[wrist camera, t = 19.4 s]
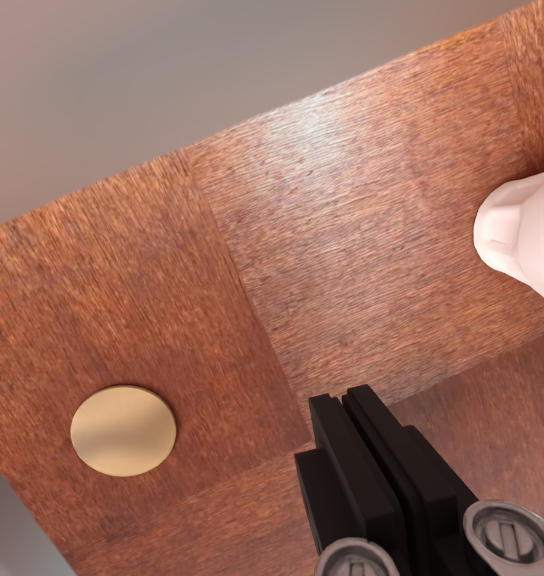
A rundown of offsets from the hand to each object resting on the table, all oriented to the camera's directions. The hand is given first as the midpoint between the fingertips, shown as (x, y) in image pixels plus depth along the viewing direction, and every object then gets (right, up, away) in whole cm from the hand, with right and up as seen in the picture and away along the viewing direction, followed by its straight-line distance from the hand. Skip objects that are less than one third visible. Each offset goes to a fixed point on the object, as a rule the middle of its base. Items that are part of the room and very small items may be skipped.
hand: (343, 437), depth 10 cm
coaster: (-15, -9, +23) cm, 29 cm away
